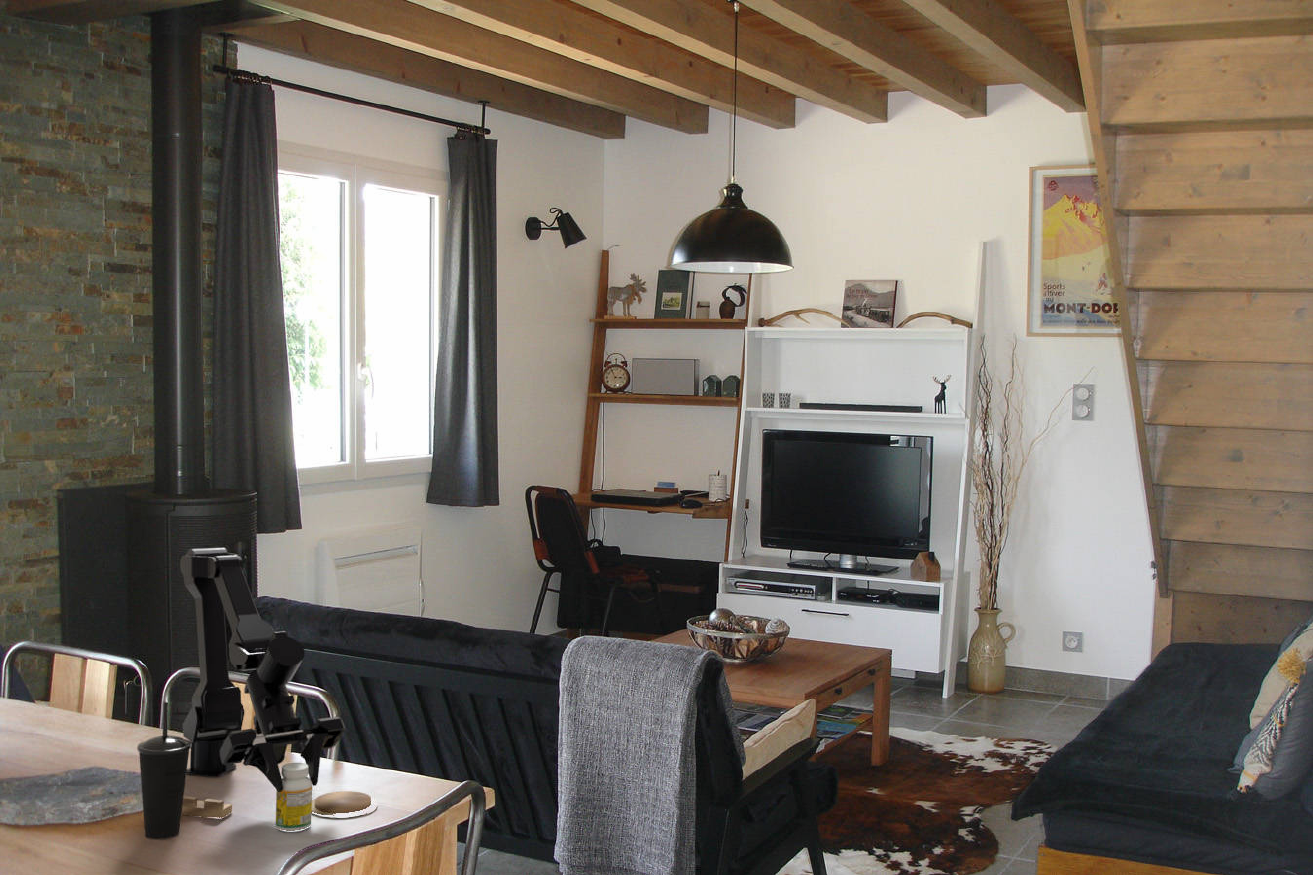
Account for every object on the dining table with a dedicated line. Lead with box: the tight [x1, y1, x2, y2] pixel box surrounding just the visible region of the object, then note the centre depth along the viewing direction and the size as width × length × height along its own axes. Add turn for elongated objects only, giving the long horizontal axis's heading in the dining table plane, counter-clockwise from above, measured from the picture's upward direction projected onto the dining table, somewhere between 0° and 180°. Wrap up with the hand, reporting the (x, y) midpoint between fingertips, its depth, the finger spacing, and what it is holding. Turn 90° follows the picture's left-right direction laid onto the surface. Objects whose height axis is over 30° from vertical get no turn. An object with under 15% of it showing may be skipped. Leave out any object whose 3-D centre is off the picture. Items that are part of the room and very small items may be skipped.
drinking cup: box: [136, 701, 192, 840], centre depth 188 cm, size 8×8×20 cm
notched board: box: [181, 795, 233, 818], centre depth 197 cm, size 8×3×3 cm, turn 78°
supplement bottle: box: [275, 762, 313, 831], centre depth 193 cm, size 5×5×10 cm
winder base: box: [312, 790, 372, 816], centre depth 203 cm, size 11×11×1 cm
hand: (298, 787), depth 192 cm, fingers closed on supplement bottle, 5 cm apart
